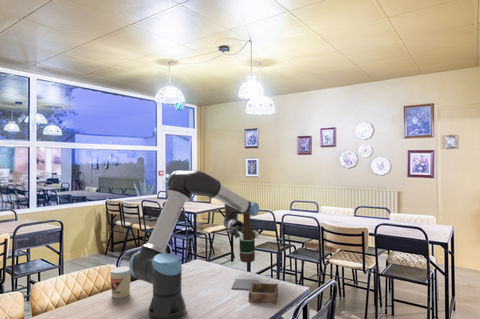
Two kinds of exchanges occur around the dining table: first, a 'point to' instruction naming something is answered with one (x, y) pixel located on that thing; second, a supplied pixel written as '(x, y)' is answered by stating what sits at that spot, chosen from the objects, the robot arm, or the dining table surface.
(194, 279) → the dining table surface
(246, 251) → the beer bottle
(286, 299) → the dining table surface
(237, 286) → the coaster
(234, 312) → the dining table surface
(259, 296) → the caddy
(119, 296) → the coffee cup
